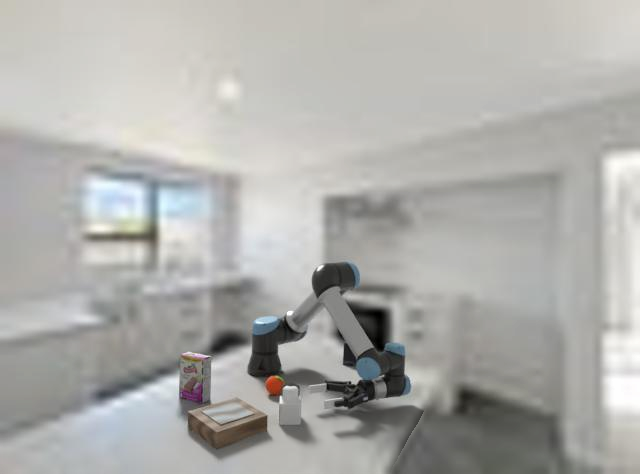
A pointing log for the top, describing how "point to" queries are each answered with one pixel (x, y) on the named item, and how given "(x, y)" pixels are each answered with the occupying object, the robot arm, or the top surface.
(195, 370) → the candy bar box
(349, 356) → the small box
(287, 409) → the medicine bottle
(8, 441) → the top surface
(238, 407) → the walnut base
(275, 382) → the clementine
